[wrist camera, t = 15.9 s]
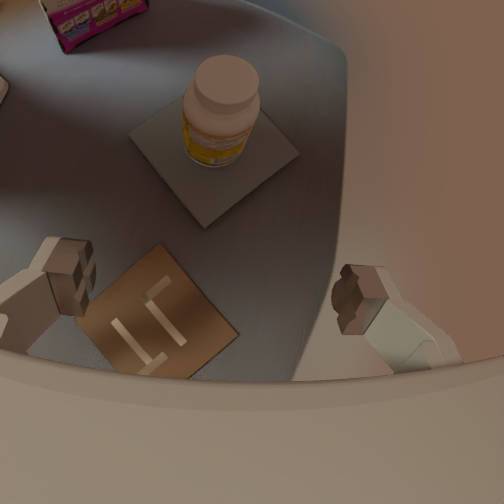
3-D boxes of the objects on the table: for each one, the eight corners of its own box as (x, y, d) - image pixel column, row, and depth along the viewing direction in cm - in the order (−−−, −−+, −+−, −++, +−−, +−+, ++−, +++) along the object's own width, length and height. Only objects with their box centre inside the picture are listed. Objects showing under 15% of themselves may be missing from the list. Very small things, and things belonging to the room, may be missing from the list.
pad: (128, 137, 26) (127, 133, 26) (223, 76, 29) (224, 72, 28) (203, 229, 27) (204, 228, 26) (297, 156, 29) (300, 153, 28)
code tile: (74, 318, 24) (73, 318, 24) (160, 242, 26) (160, 242, 26) (151, 406, 25) (151, 407, 25) (238, 334, 27) (238, 335, 27)
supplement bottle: (225, 179, 27) (245, 129, 18) (170, 151, 26) (165, 91, 17) (254, 131, 28) (283, 70, 18) (202, 105, 27) (211, 36, 18)
